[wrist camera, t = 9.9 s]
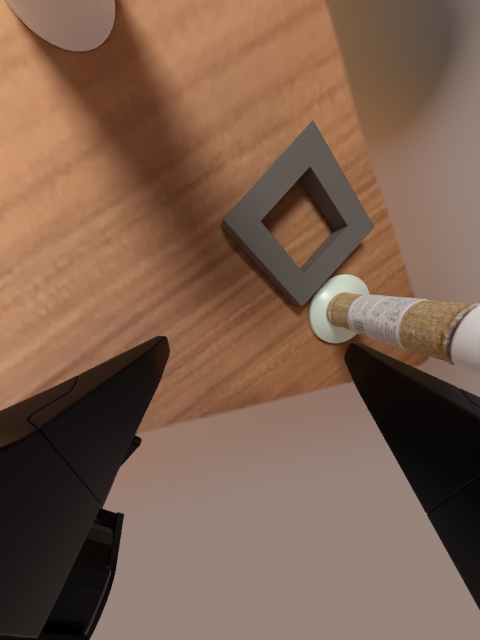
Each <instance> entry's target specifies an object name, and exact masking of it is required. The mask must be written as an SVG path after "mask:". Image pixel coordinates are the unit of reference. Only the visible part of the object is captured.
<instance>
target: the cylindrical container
mask: <svg viewBox="0 0 480 640" xmlns="http://www.w3.org/2000/svg"><path fill="white" fill-rule="evenodd" d="M6 2H7V3H8V5H9V6H10V7H11V9H12V10H13V11H14V12H15V14H16V15H17V16H18V17H19V18H20V19H21V21H22V22H23V23H24V24H25V25H26V26H27V27H28V28H29V29H31V30H32V31H33V32H34V33H36V34H37V35H38V36H39V37H41V38H42V39H44V40H46V41H47V42H49V43H51V44H53V45H55V46H58V47H60V48H62V49H66V50H71V51H88V50H91V49H95V48H97V47H98V46H99V45H101V44H102V43H104V41H105V40H106V39H107V38H108V36H109V35H110V32H111V30H112V28H113V24H114V20H115V0H6Z"/></svg>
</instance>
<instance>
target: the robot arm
mask: <svg viewBox="0 0 480 640" xmlns="http://www.w3.org/2000/svg"><path fill="white" fill-rule="evenodd" d="M169 353H170V349H169V344H168V339H167V337H166V336H157V337H155V338H153V339H151V340H149V341H146V342H144V343H142V344H140V345H138V346H136V347H134V348H132V349H130V350H128V351H126V352H124V353H122V354H120V355H118V356H116V357H114V358H112V359H110V360H108V361H106V362H104V363H102V364H100V365H98V366H96V367H94V368H92V369H90V370H87V371H85V372H83V373H81V374H80V375H79V376H75V377H73V378H71V379H69V380H67V381H65V382H63V383H61V384H59V385H57V386H55V387H52V388H50V389H48V390H46V391H44V392H42V393H39V394H37V395H35V396H33V397H31V398H28V399H26V400H24V401H22V402H19V403H17V404H15V405H12V406H10V407H8V408H6V409H3V410H1V411H0V640H89V639H90V637H91V636H92V634H93V632H94V630H95V628H96V625H97V623H98V621H99V619H100V617H101V614H102V612H103V609H104V607H105V604H106V602H107V599H108V596H109V593H110V590H111V587H112V583H113V580H114V575H115V571H116V565H117V558H118V551H119V545H120V538H121V530H122V524H123V518H124V514H122V513H119V512H118V513H114V512H111V511H107V510H104V509H102V508H103V506H104V503H105V501H106V499H107V496H108V493H109V491H110V489H111V486H112V484H113V482H114V479H115V477H116V475H117V472H118V470H119V468H120V466H121V465H122V464H123V463H124V462H125V461H126V460H127V459H128V458H129V457H130V455H131V454H132V453H133V452H134V451H135V450H136V449H137V448H138V447H139V446H140V443H141V438H139V437H137V436H135V433H136V431H137V429H138V427H139V425H140V423H141V421H142V418H143V416H144V414H145V412H146V410H147V408H148V406H149V404H150V402H151V400H152V397H153V395H154V393H155V391H156V389H157V387H158V385H159V383H160V380H161V377H162V374H163V371H164V369H165V366H166V363H167V360H168V357H169ZM344 359H345V362H346V365H347V367H348V369H349V372H350V374H351V376H352V379H353V381H354V383H355V385H356V387H357V390H358V391H359V393H360V395H361V397H362V399H363V401H364V402H365V404H366V406H367V408H368V410H369V411H370V413H371V415H372V417H373V419H374V420H375V422H376V424H377V426H378V428H379V429H380V431H381V433H382V434H383V437H384V438H385V440H386V442H387V444H388V445H389V447H390V449H391V451H392V452H393V455H394V456H395V458H396V460H397V461H398V464H399V465H400V467H401V469H402V471H403V472H404V474H405V476H406V478H407V480H408V481H409V483H410V485H411V487H412V489H413V490H414V492H415V494H416V496H417V498H418V500H419V501H420V503H421V505H422V507H423V509H424V510H425V512H426V513H427V516H428V518H429V520H430V521H431V523H432V525H433V527H434V528H435V530H436V532H437V534H438V536H439V538H440V539H441V541H442V543H443V545H444V547H445V548H446V550H447V552H448V554H449V556H450V557H451V559H452V561H453V563H454V565H455V566H456V568H457V570H458V571H459V574H460V575H461V577H462V579H463V581H464V583H465V584H466V586H467V588H468V590H469V592H470V593H471V595H472V597H473V599H474V601H475V602H476V604H477V606H478V608H479V609H480V397H478V396H476V395H474V394H472V393H469V392H467V391H464V390H462V389H460V388H457V387H456V386H454V385H451V384H449V383H447V382H445V381H443V380H441V379H438V378H436V377H434V376H432V375H429V374H427V373H425V372H423V371H421V370H418V369H416V368H414V367H412V366H410V365H407V364H405V363H403V362H401V361H399V360H396V359H394V358H392V357H390V356H388V355H385V354H383V353H381V352H379V351H377V350H374V349H372V348H370V347H368V346H365V345H363V344H361V343H350V344H349V346H348V349H347V351H346V354H345V357H344ZM136 442H137V443H136Z"/></svg>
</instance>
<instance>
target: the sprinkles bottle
mask: <svg viewBox="0 0 480 640" xmlns="http://www.w3.org/2000/svg"><path fill="white" fill-rule="evenodd" d="M327 317H328V319H329V322H330V323H331V324H332V325H334V326H337V327H342V328H345V329H349V330H351V331H353V332H355V333H358V334H361V335H364V336H367V337H370V338H373V339H376V340H379V341H382V342H385V343H388V344H391V345H394V346H397V347H400V348H403V349H406V350H412V351H415V352H418V353H421V354H425V355H427V356H431V357H434V358H437V359H440V360H444V361H446V362H448V363H450V364H451V365H455V366H456V367H458V368H460V369H462V370H465V371H468V372H471V373H474V374H477V375H480V304H478V303H476V304H464V303H463V304H461V303H450V302H441V301H431V300H427V299H417V298H405V297H393V296H381V295H362V294H351V293H348V292H342V293H339V294H337V295H336V296H334V297H333V298H332V299H331V301H330V302H329V304H328V307H327Z"/></svg>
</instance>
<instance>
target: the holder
mask: <svg viewBox="0 0 480 640" xmlns="http://www.w3.org/2000/svg"><path fill="white" fill-rule="evenodd" d="M298 179H300V181H301V182H302V184H303V185H304V187H305V188H306V190H307V191H308V193H309V194H310V196H311V197H312V199H313V200H314V202H315V203H316V205H317V206H318V208H319V209H320V211H321V212H322V214H323V215H324V217H325V218H326V220H327V221H328V223H329V224H330V226H331V227H332V229H333V230H334V231H333V232H332V234H331V235H330V236H329V237H328V238H327V239H326V240H325V241H324V242H323V244H322V245H321V246H320V247H319V248H318V249H317V250H316V251H315V252H314V253H313V255H312V256H311V257H310V258H309V259H308V260H307V261H306V262H305V263H304V265H303V266H302V267H301V268H300V269H299V267H298V266H297V265H296V264H295V263H294V261H293V260H292V259H291V258H290V256H289V255H288V254H287V253H286V252H285V250H284V249H283V248H282V247H281V245H280V244H279V243H278V242H277V241H276V239H275V238H274V237H273V236H272V235H271V233H270V232H269V231H268V230H267V228H266V227H265V226H264V225H263V224H262V222H261V220H262V219H263V218H264V217H265V216H266V215H267V213H268V212H269V211H270V210H271V209H272V208H273V207H274V206H275V205H276V203H277V202H278V201H279V200H280V199H281V198H282V197H283V196H284V195H285V193H286V192H287V191H288V190H289V189H290V188H291V187H292V186H293V185H294V184H295V182H296V181H297V180H298ZM221 227H222V228H223V229H224V230H225V231H226V232H227V233H228V234H229V235H230V236H231V238H232V239H233V240H234V241H235V242H236V243H237V244H238V245H239V246H240V247H241V248H242V250H243V251H244V252H245V253H246V254H247V255H248V256H249V257H250V258H251V259H252V260H253V262H254V263H255V264H256V265H257V266H258V267H259V268H260V269H261V270H262V271H263V272H264V274H265V275H266V276H267V277H268V278H269V279H270V280H271V281H272V282H273V283H274V284H275V286H276V287H277V288H278V289H279V290H280V291H281V292H282V293H283V294H284V295H285V296H286V298H287V299H288V300H289V301H290V302H291V303H292V304H293V305H297V306H301V307H302V306H303V305H304V304H305V303H306V302H307V301H308V300H309V299H310V298H311V297H312V295H313V294H314V293H315V292H316V291H317V290H318V289H319V288H320V287H321V285H322V284H323V283H324V282H325V281H326V280H327V279H328V278H329V277H330V276H331V274H332V273H333V272H334V271H335V270H336V269H337V268H338V267H339V266H340V265H341V263H342V262H343V261H344V260H345V259H346V258H347V257H348V256H349V255H350V253H351V252H352V251H353V250H354V249H355V248H356V247H357V246H358V245H359V244H360V242H361V241H362V240H363V239H364V238H365V237H366V236H367V235H368V234H369V233H370V231H371V230H372V229H373V228H374V226H373V224H372V222H371V221H370V219H369V217H368V215H367V214H366V212H365V210H364V208H363V207H362V205H361V203H360V201H359V200H358V198H357V196H356V194H355V193H354V191H353V189H352V187H351V186H350V184H349V182H348V180H347V179H346V177H345V175H344V173H343V172H342V170H341V168H340V166H339V165H338V163H337V161H336V159H335V158H334V156H333V154H332V153H331V151H330V149H329V147H328V146H327V144H326V142H325V140H324V139H323V137H322V135H321V133H320V132H319V130H318V128H317V126H316V125H315V123H314V121H313V120H312V122H311V123H310V124H309V125H308V126H307V127H306V128H305V129H304V130H303V132H302V133H301V134H300V135H299V136H298V137H297V138H296V139H295V140H294V142H293V143H292V144H291V145H290V146H289V147H288V148H287V149H286V150H285V151H284V153H283V154H282V155H281V156H280V157H279V158H278V159H277V160H276V161H275V163H274V164H273V165H272V166H271V167H270V168H269V169H268V170H267V171H266V173H265V174H264V175H263V176H262V177H261V178H260V179H259V180H258V181H257V183H256V184H255V185H254V186H253V187H252V188H251V189H250V190H249V191H248V193H247V194H246V195H245V196H244V197H243V198H242V199H241V200H240V201H239V203H238V204H237V205H236V206H235V207H234V208H233V209H232V210H231V211H230V212H229V214H228V215H227V216H226V217H225V218H224V219H223V221H222V224H221Z"/></svg>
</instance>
